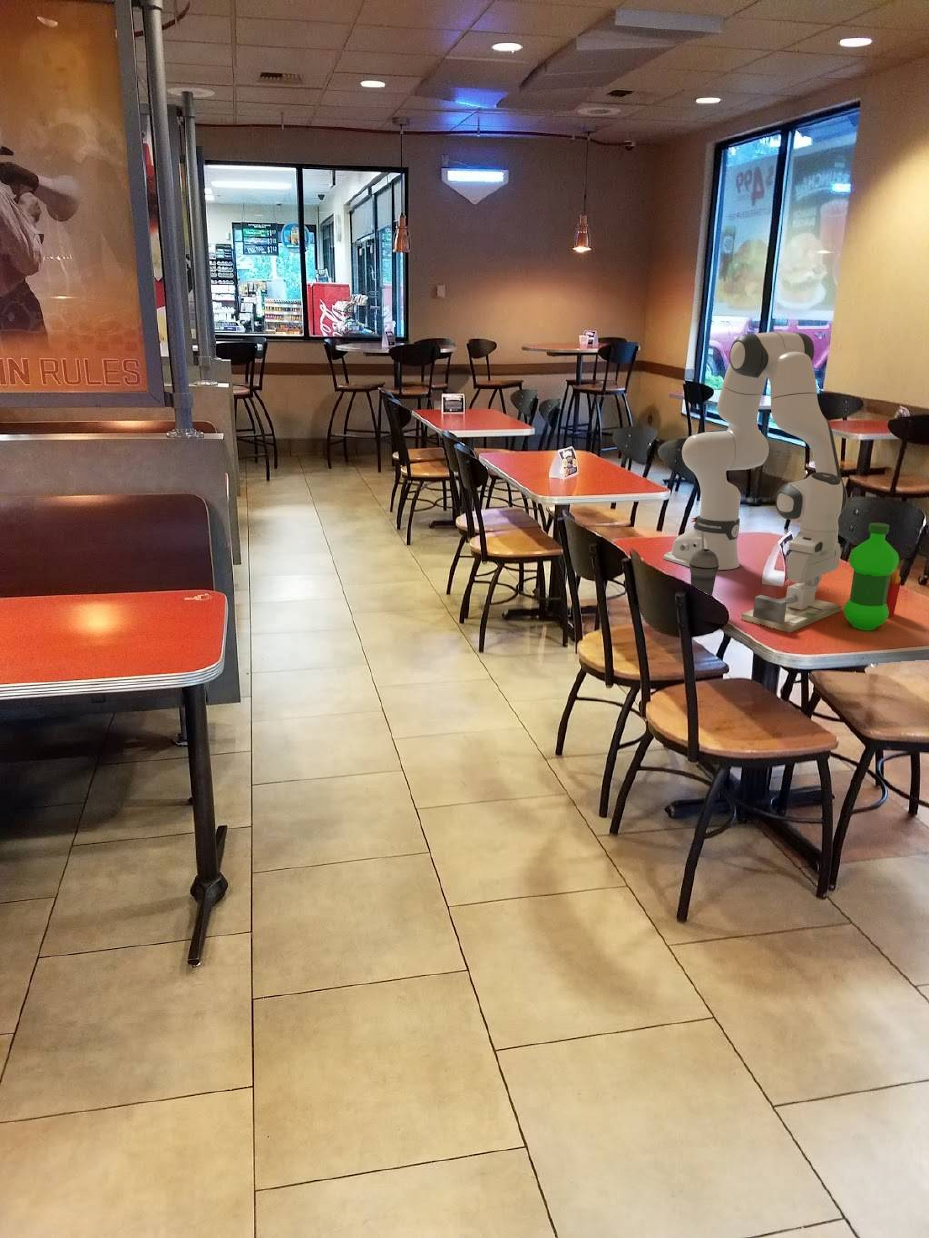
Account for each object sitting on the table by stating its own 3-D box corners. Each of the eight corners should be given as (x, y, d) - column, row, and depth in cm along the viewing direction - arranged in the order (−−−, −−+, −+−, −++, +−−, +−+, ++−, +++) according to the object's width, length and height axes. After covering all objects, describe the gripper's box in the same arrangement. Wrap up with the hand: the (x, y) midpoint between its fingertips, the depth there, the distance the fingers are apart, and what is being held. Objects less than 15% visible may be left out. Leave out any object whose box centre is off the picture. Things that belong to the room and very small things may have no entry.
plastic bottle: (834, 627, 219) (848, 525, 211) (851, 616, 227) (865, 517, 219) (877, 636, 213) (893, 531, 205) (893, 626, 220) (909, 524, 212)
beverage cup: (707, 615, 227) (715, 536, 221) (680, 609, 232) (687, 532, 225) (719, 608, 233) (727, 531, 227) (692, 602, 237) (699, 527, 231)
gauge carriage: (778, 608, 227) (781, 587, 225) (797, 601, 233) (799, 580, 231) (809, 616, 221) (812, 594, 220) (827, 608, 227) (830, 587, 225)
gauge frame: (741, 619, 225) (743, 594, 222) (793, 599, 240) (796, 575, 238) (789, 632, 215) (793, 606, 213) (840, 610, 231) (844, 586, 229)
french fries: (898, 617, 227) (906, 570, 223) (883, 618, 226) (891, 571, 222) (879, 607, 235) (886, 561, 231) (865, 607, 234) (872, 562, 230)
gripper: (825, 530, 236) (819, 582, 241) (785, 543, 223) (779, 597, 227) (849, 535, 232) (842, 587, 236) (809, 548, 219) (802, 603, 223)
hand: (810, 592), depth 232 cm, fingers closed
